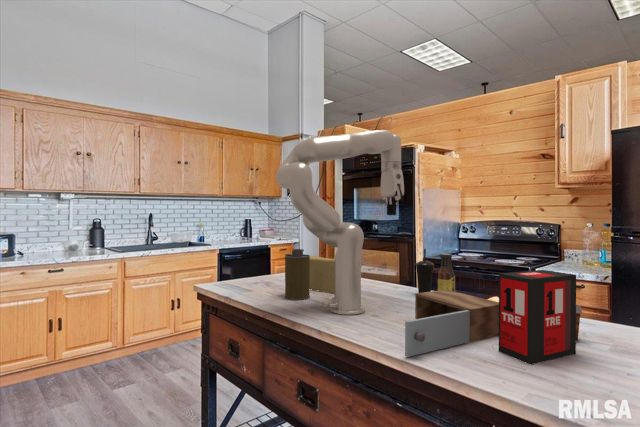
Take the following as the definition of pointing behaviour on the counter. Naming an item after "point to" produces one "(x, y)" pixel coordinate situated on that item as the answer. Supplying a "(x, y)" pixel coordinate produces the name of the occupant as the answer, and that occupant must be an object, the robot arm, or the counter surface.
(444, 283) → the sauce bottle
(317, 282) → the cheese
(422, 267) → the drinking cup
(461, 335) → the door
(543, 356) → the cleaning product box
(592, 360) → the counter surface
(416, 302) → the cabinet
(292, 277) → the canister
